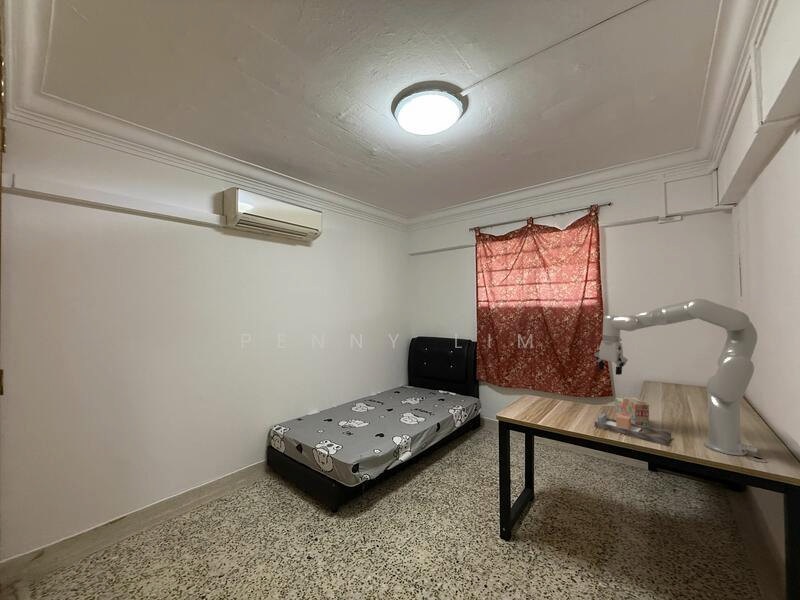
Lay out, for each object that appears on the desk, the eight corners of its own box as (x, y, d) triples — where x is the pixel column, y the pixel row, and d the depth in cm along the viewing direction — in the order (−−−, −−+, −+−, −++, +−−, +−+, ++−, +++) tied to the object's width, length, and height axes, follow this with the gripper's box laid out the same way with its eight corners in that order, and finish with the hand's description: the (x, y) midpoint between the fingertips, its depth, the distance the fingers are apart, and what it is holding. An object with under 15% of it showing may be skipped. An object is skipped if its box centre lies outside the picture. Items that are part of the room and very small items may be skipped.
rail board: (671, 438, 143) (671, 432, 143) (667, 446, 135) (666, 439, 135) (601, 421, 164) (601, 416, 164) (594, 427, 156) (594, 421, 156)
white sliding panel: (640, 430, 151) (640, 421, 151) (636, 434, 145) (636, 426, 145) (603, 420, 162) (602, 413, 163) (597, 425, 157) (597, 417, 157)
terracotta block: (631, 427, 152) (631, 417, 152) (628, 429, 149) (628, 419, 149) (619, 424, 156) (618, 414, 156) (616, 426, 152) (616, 416, 152)
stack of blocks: (614, 414, 177) (614, 392, 178) (626, 414, 176) (626, 393, 177) (635, 428, 156) (635, 403, 157) (649, 429, 155) (649, 404, 156)
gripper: (633, 341, 153) (631, 376, 153) (601, 337, 169) (600, 368, 169) (621, 341, 151) (620, 376, 151) (590, 337, 167) (589, 368, 167)
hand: (609, 372), depth 160 cm, fingers open, 9 cm apart
